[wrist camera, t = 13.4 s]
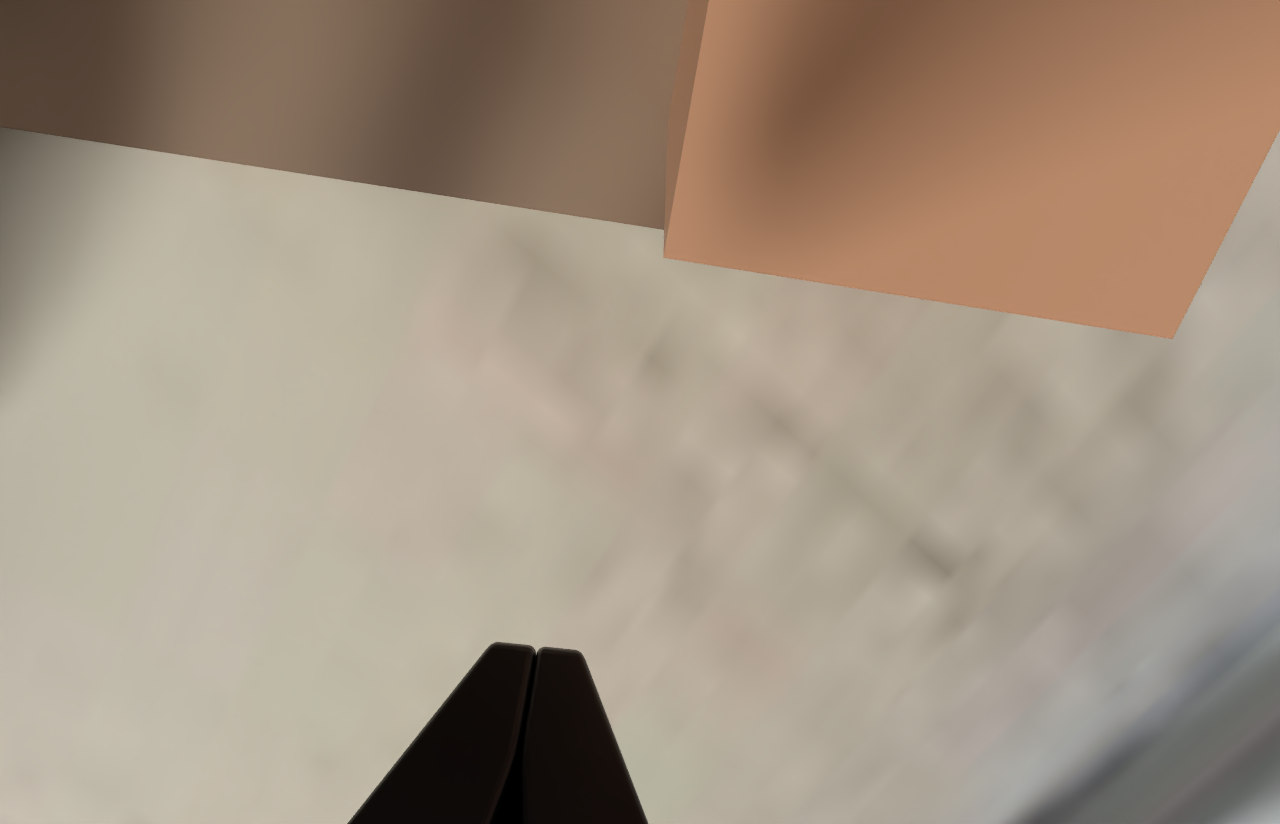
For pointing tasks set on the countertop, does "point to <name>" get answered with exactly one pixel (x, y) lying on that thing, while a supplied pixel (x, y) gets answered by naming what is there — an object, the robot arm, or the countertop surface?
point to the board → (369, 91)
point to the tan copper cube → (974, 147)
